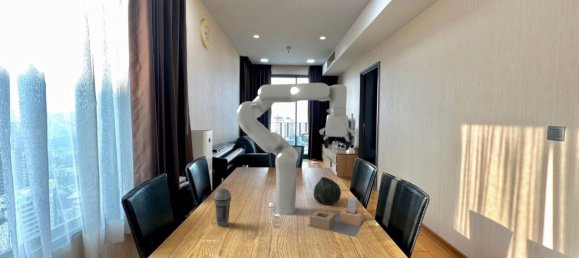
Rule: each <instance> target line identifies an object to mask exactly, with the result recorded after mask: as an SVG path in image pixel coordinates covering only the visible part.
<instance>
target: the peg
mask: <svg viewBox="0 0 579 258" xmlns="http://www.w3.org/2000/svg"><path fill="white" fill-rule="evenodd" d="M357 203H358V197H355V196H349V197H348V198H347V208H348V213H352V214H356V213H357V209H358V208H357V207H358V204H357Z"/></svg>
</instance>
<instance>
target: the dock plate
mask: <svg viewBox="0 0 579 258" xmlns="http://www.w3.org/2000/svg"><path fill="white" fill-rule="evenodd" d="M364 211H365V210H364V209H358V208H357V213H356V214H352V213H348V206H347V207H346V206H345V207H344V208H343V209H342V210H341V212H340V213H335V212H332V211H331V212H330V211H325V210H323V211H322V210H318V209H317V210H315V212H313V213H312V214H311V215H309V223H308V225H307V227H309V228H314V229H319V230H323V231H327V232H328V231H329V232H332V233H336V234H342V235H346V236H351V237H356V236H357V234H358V232H359V231H360V230H361V227H362V226H363V224H364V223H365V221H366V218H364V216H365V212H364Z"/></svg>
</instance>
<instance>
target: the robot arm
mask: <svg viewBox="0 0 579 258" xmlns="http://www.w3.org/2000/svg"><path fill="white" fill-rule="evenodd" d="M347 88H348V87H347V86H346V85H345V84H333V85H328V84H326V83H324V82H308V83H307V82H306V83H303V82H302V83H281V84H263V85H261V86H260V87H259V89H258V90H257V96H256V97H255V98H254V99H253V100H252V101H247V100H246V101H244V102H242V103H241V104H240V105H239V106H238V107H237V112H236V120H237V122H238V126H239V127H240V129H241V130H242V132H244V133H245V134H246V135H247V136H248V137H249V138H250V139H251V140H252V141H253V142H254V143H256V144H257V146H259V147H260V149H262V151H264V152H265V153H268V154H271V153H272V154H273V155H274V156H275V202H272V201H271V202H269V205H268V206H269V207H268V208H270V209H273V210H272V216H274V217H275V218H278V219H279V218H280V217H282V216H283V215H285V216H286V215H287V216H289V215H293V214H295V213H296V206H297V205H296V203H297V200H296V199H297V192H296V191H297V160H298V158H299V154H298V151H297V149H295V147H294V146H293V145H292V144H290V143H289V141H287V140H286V139H285V138H284V137H283V136H282V135H280V134H279V133H277V132H274V131H270V130H269V129H268V128H266V127H265V125H264V124H263V123H261V122H260V121H259V120H258V118H260V117H261V116H262V115H263V114H265V112H267V111H268V109H270V108H271V107H272V106H273V105H274V104H276V103H295V102H300V101H319V102H326V101H329V108H328V109H326V112H327V113H328V114H327V116H326V122H325V127H323V128H321V129H320V130H319V131H318V132H319V134H320V136H321V138H322V139H323V142H324V143H323V146H324V149H329V145H330V142H329V141H330V140H329V139H330V138H331V137H335V138H344V139H345V140H346V141H345V147H344V150H345V151H349V149H350V148H351V141H352V140H353V139H354V138H355V135H357V132H356V131H355V130H353V129H351V128H350V127H349V126H350V125H349V118H348V117H349V116H348V114H347V101H348V100H347V97H348V89H347ZM324 132H325V134H324ZM350 133H351V135H350V136H349V134H350Z"/></svg>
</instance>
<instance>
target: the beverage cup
mask: <svg viewBox="0 0 579 258" xmlns="http://www.w3.org/2000/svg"><path fill="white" fill-rule="evenodd" d="M213 200H214V206H215V216H216V225H217V226H218V227H221V228H222V227H223V228H224V227H227V226H229V219H230V207H231V202H232V195H231V192H230V191H229V189H227V188H224V177H222V178H221V188H219V189H218V190H217V191H216V192H215V193H214V198H213Z"/></svg>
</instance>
